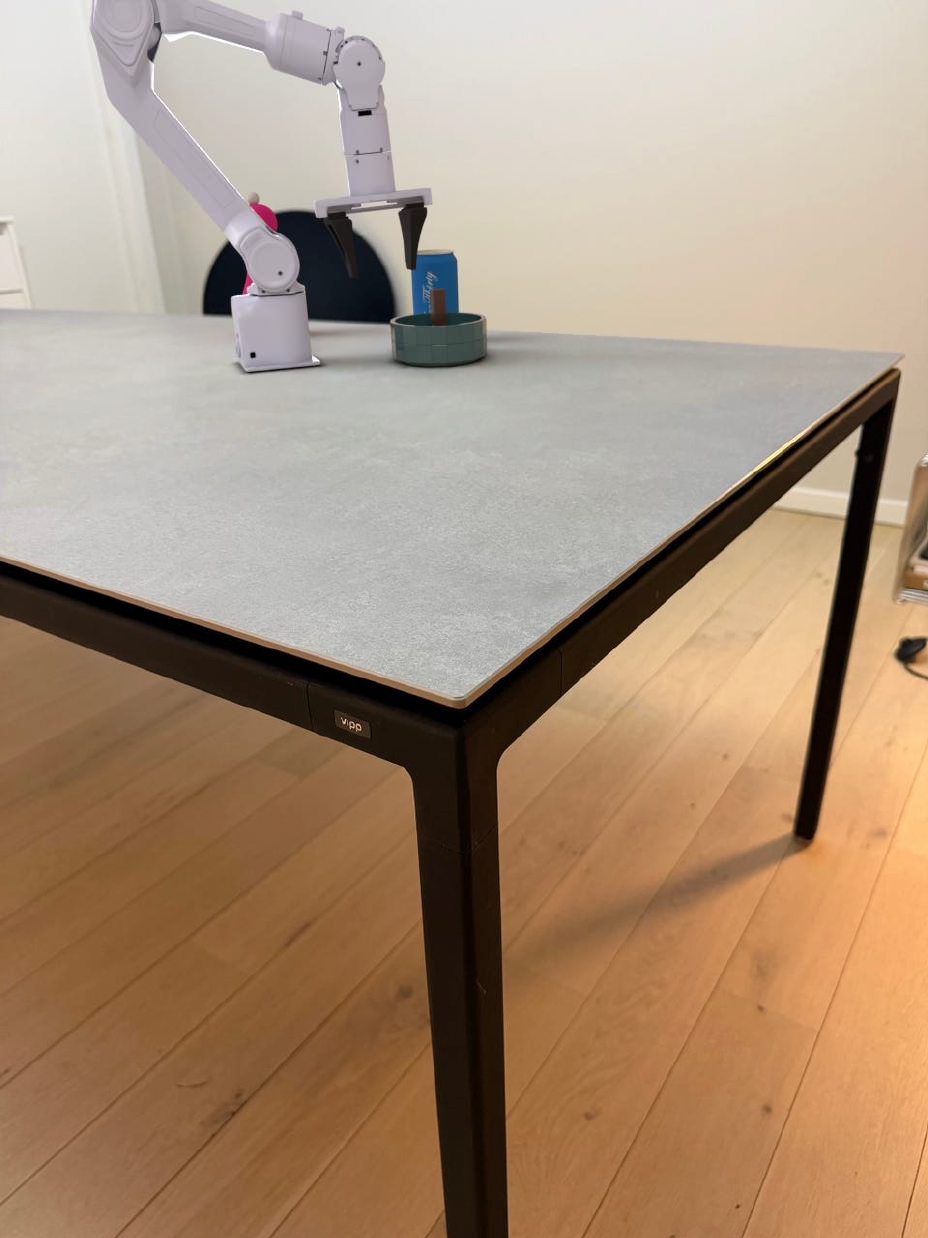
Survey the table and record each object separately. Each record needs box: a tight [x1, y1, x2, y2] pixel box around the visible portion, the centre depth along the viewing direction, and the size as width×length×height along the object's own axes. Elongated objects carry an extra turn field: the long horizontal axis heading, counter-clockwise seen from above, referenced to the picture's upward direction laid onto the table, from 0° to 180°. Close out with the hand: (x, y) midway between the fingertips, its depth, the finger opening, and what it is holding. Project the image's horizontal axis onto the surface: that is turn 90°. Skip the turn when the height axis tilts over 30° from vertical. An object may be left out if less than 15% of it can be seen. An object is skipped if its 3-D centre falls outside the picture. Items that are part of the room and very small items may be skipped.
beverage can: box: [410, 248, 460, 314], centre depth 129 cm, size 6×6×12 cm
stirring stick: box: [430, 288, 447, 326], centre depth 117 cm, size 2×2×8 cm
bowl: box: [389, 311, 488, 368], centre depth 118 cm, size 12×12×5 cm
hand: (382, 273), depth 117 cm, fingers open, 7 cm apart
